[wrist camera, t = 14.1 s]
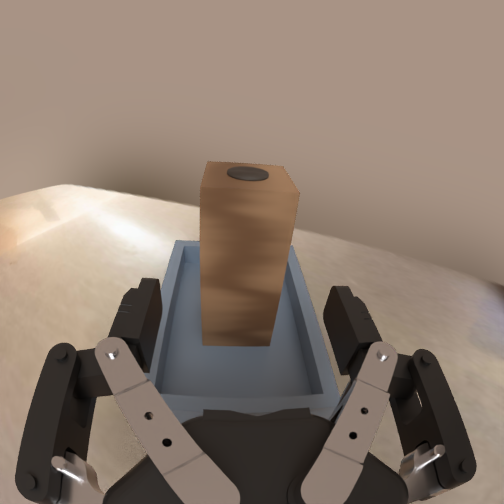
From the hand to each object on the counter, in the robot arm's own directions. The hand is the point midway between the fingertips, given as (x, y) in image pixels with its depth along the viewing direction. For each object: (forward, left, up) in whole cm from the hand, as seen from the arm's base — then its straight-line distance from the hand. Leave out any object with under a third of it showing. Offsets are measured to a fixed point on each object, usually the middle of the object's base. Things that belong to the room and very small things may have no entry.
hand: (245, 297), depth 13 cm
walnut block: (0, -6, -8) cm, 10 cm away
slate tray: (0, -6, -9) cm, 11 cm away
